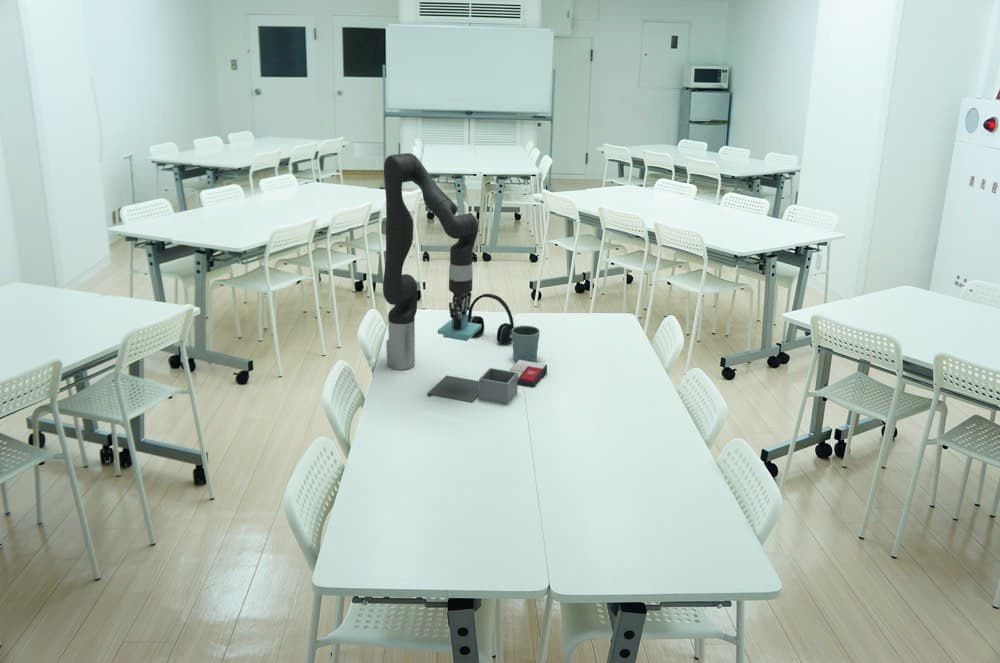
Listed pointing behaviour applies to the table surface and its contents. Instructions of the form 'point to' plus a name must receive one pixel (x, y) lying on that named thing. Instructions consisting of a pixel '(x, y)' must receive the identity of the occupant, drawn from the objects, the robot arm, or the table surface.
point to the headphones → (504, 330)
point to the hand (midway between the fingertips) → (459, 326)
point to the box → (498, 386)
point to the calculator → (529, 372)
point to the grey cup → (525, 343)
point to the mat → (456, 389)
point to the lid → (464, 332)
